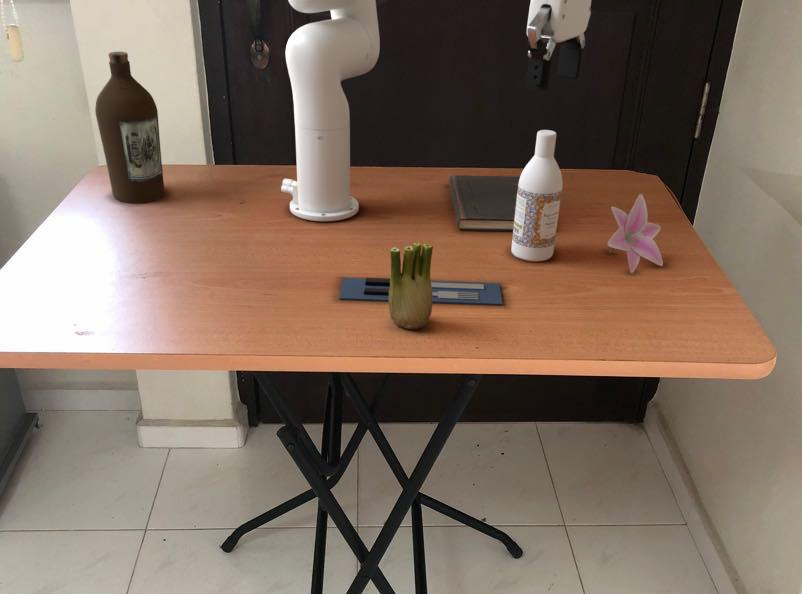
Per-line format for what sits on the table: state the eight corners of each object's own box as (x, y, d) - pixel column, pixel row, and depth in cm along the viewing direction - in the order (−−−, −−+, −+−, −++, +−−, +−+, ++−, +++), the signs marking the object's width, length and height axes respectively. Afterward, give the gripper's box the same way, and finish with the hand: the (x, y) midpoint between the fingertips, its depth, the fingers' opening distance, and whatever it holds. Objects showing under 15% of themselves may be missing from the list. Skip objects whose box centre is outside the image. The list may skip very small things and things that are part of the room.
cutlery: (363, 296, 123) (363, 292, 122) (365, 281, 127) (365, 277, 127) (485, 300, 123) (485, 296, 122) (483, 285, 127) (483, 281, 126)
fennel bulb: (386, 330, 115) (388, 249, 108) (392, 314, 119) (394, 235, 112) (428, 334, 114) (432, 253, 107) (432, 318, 118) (437, 239, 111)
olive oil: (99, 193, 156) (74, 51, 142) (149, 181, 163) (130, 44, 149) (128, 208, 150) (104, 62, 136) (178, 195, 156) (161, 54, 143)
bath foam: (529, 266, 134) (545, 141, 123) (502, 251, 139) (514, 129, 127) (561, 257, 137) (579, 134, 126) (533, 242, 142) (548, 123, 131)
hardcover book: (528, 187, 165) (530, 176, 164) (548, 232, 146) (549, 219, 145) (448, 186, 165) (449, 174, 163) (457, 230, 146) (458, 218, 144)
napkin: (339, 299, 122) (339, 297, 122) (343, 279, 128) (343, 277, 128) (502, 305, 122) (502, 303, 122) (498, 284, 128) (499, 283, 128)
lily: (588, 277, 133) (623, 237, 126) (576, 225, 140) (609, 183, 132) (650, 294, 137) (687, 255, 130) (635, 242, 144) (670, 203, 136)
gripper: (571, -63, 113) (555, 69, 123) (512, -55, 101) (499, 91, 111) (623, -59, 110) (602, 76, 119) (569, -50, 98) (550, 100, 107)
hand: (553, 83), depth 115 cm, fingers open, 9 cm apart
